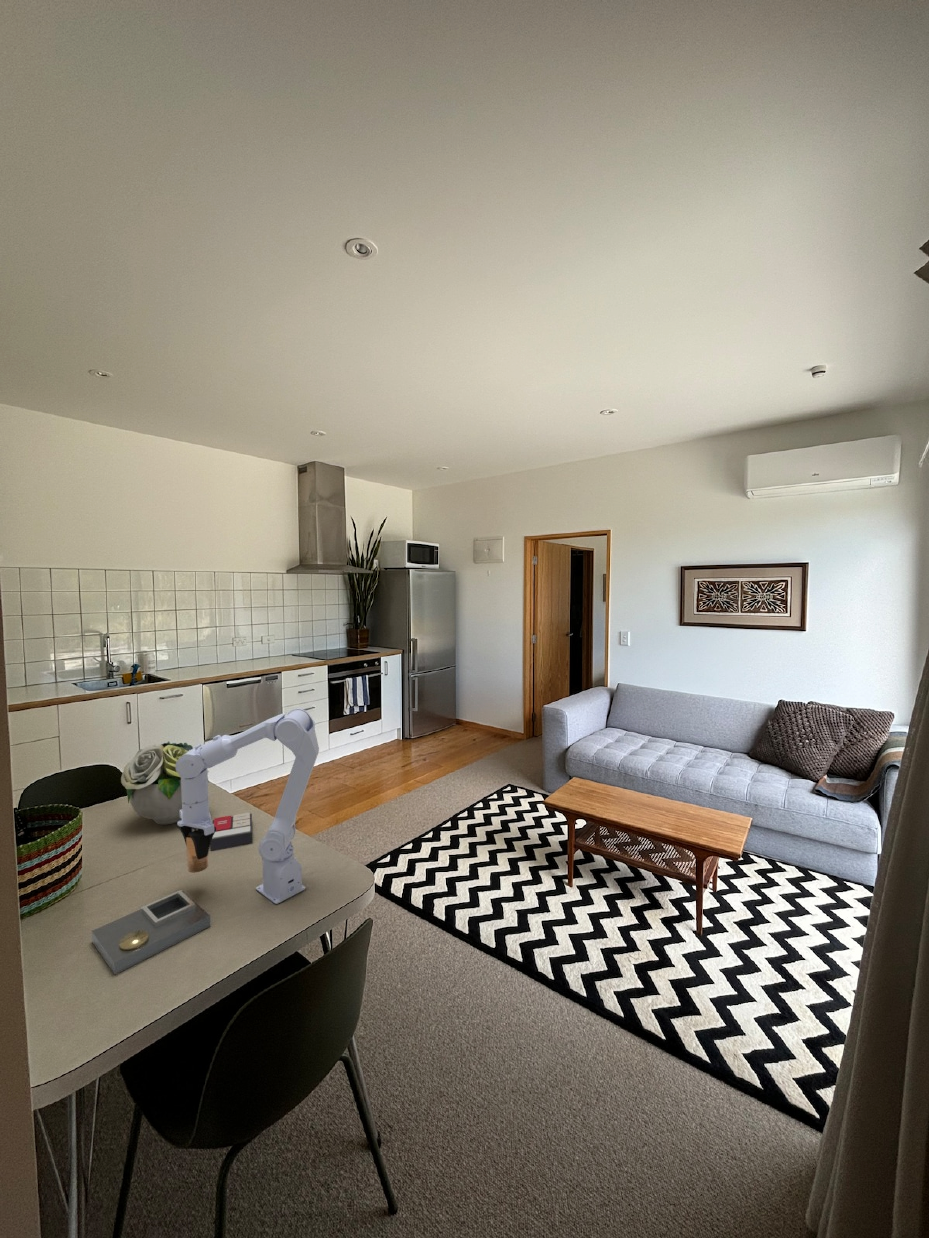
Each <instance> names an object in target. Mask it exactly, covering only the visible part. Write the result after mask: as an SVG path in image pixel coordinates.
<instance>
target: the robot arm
mask: <svg viewBox="0 0 929 1238" xmlns="http://www.w3.org/2000/svg"><path fill="white" fill-rule="evenodd" d="M315 725H316V723H315V719H313V718H312V716H311V715H310V714H309V712H308V711H307V710H305V709H302V708H295V709H294V708H293V709H292V710H290V711H289V712H288V713H287V712H284V713H280V714H278V715H277V714H276V715H275V716H273V717H271V718H268V719H266V720H264V721H262V722H260V723H258V724H256V725H254V726H252V727H250V728H248V729H247V730H244V731H242V732H240V733H238V734H236V735H235V736H232V735H229V734H224V735H222V736H221V734H217V735H216V736H214V737H212V740H210V741H208V742H207V743H204V744H203V745H202V744H200V743H199V744H197V745H196V746H194V747H193V749H191V750H189V751H188V752H187V753H186V754H184V755H183V756H181V757H180V758H179V759H178V760H177V762H176V766H175V768H176V771H177V773H178V774H179V775H180V776H181V794H182V809H181V810H179V812H180V818H182V820H180V821H178V822H176V823H177V825H176V826H177V828H178V829H179V831H180V832H181V835H182V837H183V840H184V842H185V845H186V847H187V842H186V837H187V836H188V835H189V836H190V837H191V839H192V841H193V843H194V846H195V852H196V856H197V859H202V858H204V857H207V855H208V856H209V851H210V843H211V840H212V837H213V835H214V833H215V832H216V827H215V826H214V824H213V823H212V822H213V820H212V816H211V813H210V800H209V799H210V798H209V797H210V796H209V783H208V782H209V777H208V774H209V772H207V770H208V769H211V768H213V767H215V766H217V765H219V764H221V763H224V762H226V761H227V760H228V761H229V760H231V759H232V758H234V757H236V755H237V753H238V750H240V749H242V748H244V747H247V746H249V745H252V744H254V743H256V742H258V741H261V740H263V739H268V740H270V741H273V742H276V740H278V742H280V743H281V744H282V745H284V746H285V747H286V748H287V749H288V750H290V751H291V752H292V753H293V755H294V757H295V759H294V760H293V761H294V762H293V764H292V765H291V766H292V767H291V769H290V772H289V775H288V779H287V781H286V784H285V787H284V790H283V792H282V796H281V798H280V801H279V803H278V807H277V809H276V812H275V815H274V818H273V820H272V821H271V824H270V826H269V828H268V831H267V833H266V834H265V836H264V837H263V838H262V839H261V841H260V842H259V844H258V848H257V849H258V854H259V856H260V857H261V858H262V862H261V863H262V884H259V885H258V886H256V887H255V890H256V891H257V892H259V893H260V894H261V895H263V896H264V897H265V898H267V899H268V900H269V901H270V902H272V903H274V904H275V905H278V904H279V903H282V902H284V901H285V900H288V899H289V898H292V897H293V896H295V895H297V894H299V893H300V892H303V891H304V890H306V886H304V885H303V877H302V875H303V874H302V873H303V872H302V871H303V870H302V868H303V867H302V864H301V863H300V862H299V861H298V860H297V858H296V857H295V851H294V845H293V843H292V840H293V839H294V837H295V835H296V821H297V815H298V811H299V809H300V806H301V803H302V801H303V797H304V795H305V792H306V789H307V787H308V783H309V781H310V777H311V775H312V772H313V770H314V766H315V764H316V760H317V758H318V755H319V752H320V751H319V750H320V747H319V743H318V739H317V732H316V727H315ZM192 827H194V828H198V830H196V831H193V832H192Z"/></svg>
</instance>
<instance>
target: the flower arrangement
mask: <svg viewBox="0 0 929 1238" xmlns="http://www.w3.org/2000/svg"><path fill="white" fill-rule="evenodd" d="M193 748H194V747H193V746H192V745H190V744H188V743H187V742H183V743H182V742H179V743H176V742H172V743H170V741H167V742H164V743H161V744H158V745H157V744H156V743H154V744H151V745H148V746H145V747H143V748H140V749H138V751H137V752H136V753H135V755H134V757H133V758H132V759H131V760H130V761H128V762H127V764H126V765H125V766H124V768H123V771H122V774H121V777H120V783H121V784H122V786H123V787H124V788H125V789H126V796H127V801H128V804H130V805H131V807H132V809H133V811H134V812H135V813H136V814H137V815H138V816H140V817H143V818H145V819H149V820H153V821H154V822H155V823H156V824H157V825H163V826H164V825H171V824H176V823H177V822H178V821H181V820H182V818H180V812H179V810H181V809H182V794H181V776H180V775H179V774H178V773H177V771H176V768H175V766H176V762H177V760H178V759H179V758H180V757H181V756H183V755H184V754H186V753H187V752H188V751H190V750H191V749H193ZM207 772H208V773H210V771H209V770H208V769H207ZM208 784H209V781H208Z"/></svg>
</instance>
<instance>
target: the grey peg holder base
mask: <svg viewBox="0 0 929 1238" xmlns="http://www.w3.org/2000/svg"><path fill="white" fill-rule="evenodd" d="M210 927H211V915H210V914H209V913H208V911H206V910H205V909H204V908H203V907H201V906H200V905H199V903H197V902H196V901H195V900H194V899H193V898H192V897H191V896H190V895H188V894H187V893H186V892H185V891H184V890H180V889H179V890H177V891H175V892H172V893H171V894H168V895H166V896H164V897H161V898H159V899H157V900H154V901H151V902H150V903H147V904H145V905H143V906H141V907H140V909H139V910H136V911H134V912H132V913H130V914H128V915H125V916H122V917H120V918H117V919H116V920H113V921H111V922H109V923H106V924H104V925H101V926H99V927H97V928H95V929H93V930H91V941H92V944H93V945H94V947H95V948H96V950H97V951H98V952H99V954H100V956H101V957H102V959H103V960H104V962H106V964H107V966H108V968H109V969H110V970H111V972H112V973H113V975H115V976H116V975H118V974H120V973H122V972H123V971H126V970H128V969H130V968H132V967H133V966H135V965H137V964H139V963H141V962H144V961H145V960H147V959H149V958H151V957H152V956H155V955H157V954H159V953H161V952H163V951H165V950H167V949H169V948H170V947H173V946H174V945H176V944H179V943H180V942H182V941H184V940H186V939H188V938H190V937H193V936H194V935H196V934H198V933H200V932H202V931H203V930H205V929H208V928H210Z"/></svg>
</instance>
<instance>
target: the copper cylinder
mask: <svg viewBox="0 0 929 1238" xmlns="http://www.w3.org/2000/svg"><path fill="white" fill-rule="evenodd" d="M196 830H198V828H194V827H192V832H193V831H196ZM186 842H187V846H186V861H187V864H186V865H187V872H189V873H193V874H194V873H199V872H203V871H205V870H207V869H208V867H209V863H210V862H209V854H208V855H207V857H204V858H202V859H197V856H196V852H195V846H194V843H193V841H192V839H191V837H190V836H189V835H188V836H187V837H186Z"/></svg>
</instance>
